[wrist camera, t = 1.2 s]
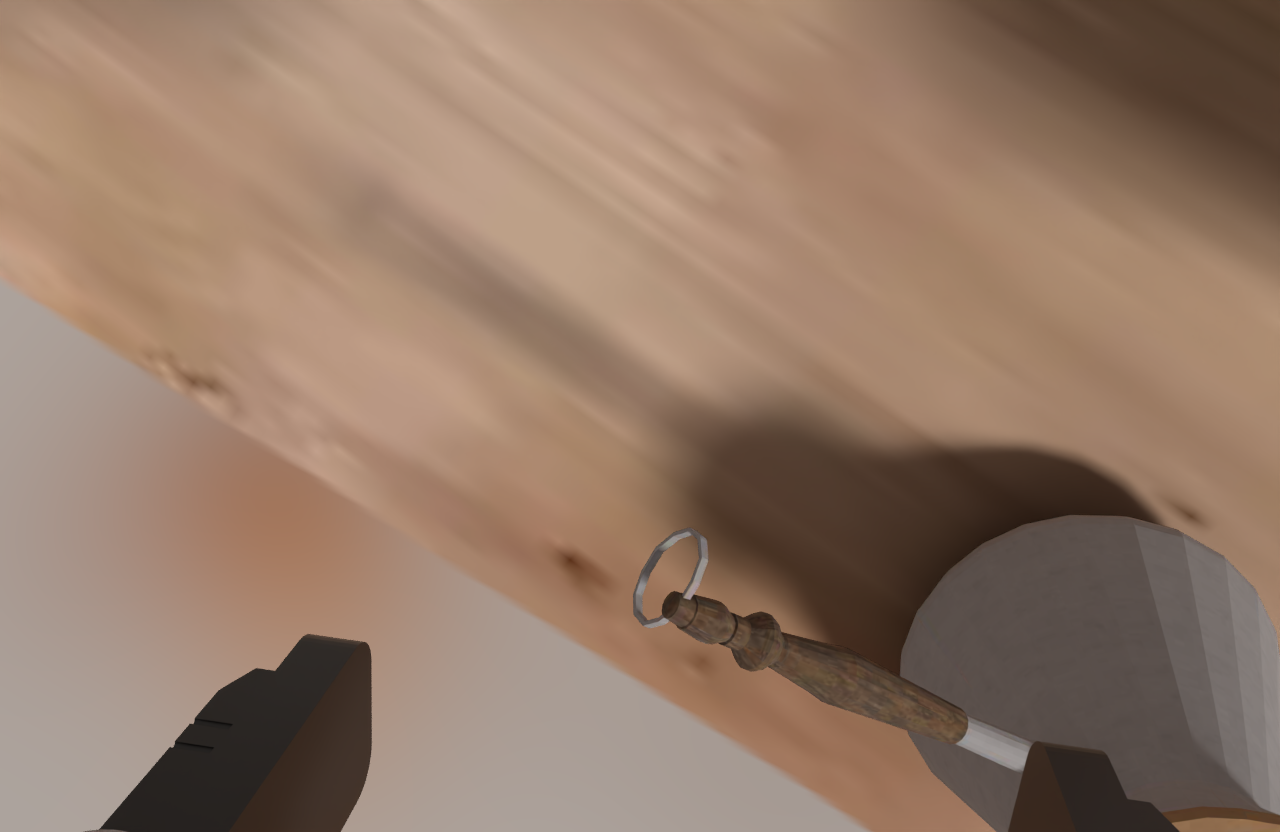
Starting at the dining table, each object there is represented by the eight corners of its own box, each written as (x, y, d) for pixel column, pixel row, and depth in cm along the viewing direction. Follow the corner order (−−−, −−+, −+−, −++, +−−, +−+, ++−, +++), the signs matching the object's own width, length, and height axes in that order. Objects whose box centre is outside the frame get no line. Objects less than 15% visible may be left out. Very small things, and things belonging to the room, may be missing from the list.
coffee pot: (1318, 615, 35) (1688, 1003, 21) (1067, 829, 39) (1238, 1278, 25) (807, 224, 33) (838, 365, 19) (594, 493, 36) (486, 778, 22)
